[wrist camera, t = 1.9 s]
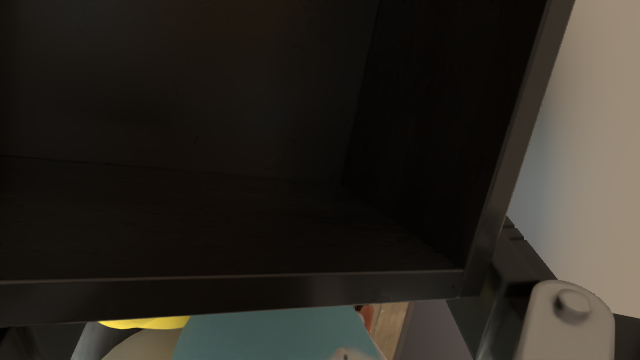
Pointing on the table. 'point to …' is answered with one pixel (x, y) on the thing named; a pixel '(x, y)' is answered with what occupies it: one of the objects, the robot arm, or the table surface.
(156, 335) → the bowl
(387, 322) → the table surface
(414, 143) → the pedestal box
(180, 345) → the toy
